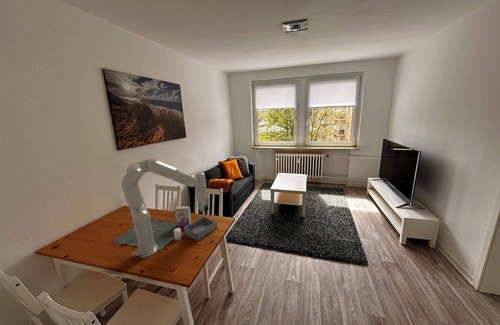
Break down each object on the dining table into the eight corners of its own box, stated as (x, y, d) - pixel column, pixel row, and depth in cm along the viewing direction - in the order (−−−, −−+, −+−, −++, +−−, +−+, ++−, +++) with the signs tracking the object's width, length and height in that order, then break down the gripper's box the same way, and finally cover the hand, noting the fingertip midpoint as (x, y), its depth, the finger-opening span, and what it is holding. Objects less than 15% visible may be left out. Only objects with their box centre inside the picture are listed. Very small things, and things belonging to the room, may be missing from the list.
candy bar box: (176, 227, 162) (173, 209, 157) (179, 223, 166) (176, 206, 162) (189, 227, 160) (187, 209, 156) (192, 223, 165) (189, 206, 161)
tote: (197, 241, 142) (196, 234, 141) (184, 234, 151) (183, 227, 150) (217, 228, 157) (216, 221, 156) (204, 222, 166) (203, 216, 165)
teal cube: (203, 212, 151) (203, 206, 149) (199, 210, 154) (198, 204, 152) (208, 209, 155) (208, 203, 153) (204, 208, 158) (203, 202, 156)
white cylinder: (177, 241, 144) (175, 232, 142) (173, 238, 146) (172, 230, 145) (183, 237, 147) (181, 229, 146) (179, 235, 150) (178, 227, 149)
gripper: (190, 187, 152) (193, 209, 156) (204, 192, 141) (207, 214, 146) (198, 184, 157) (200, 205, 162) (212, 188, 147) (215, 210, 152)
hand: (204, 209), depth 154 cm, fingers closed on teal cube, 5 cm apart
